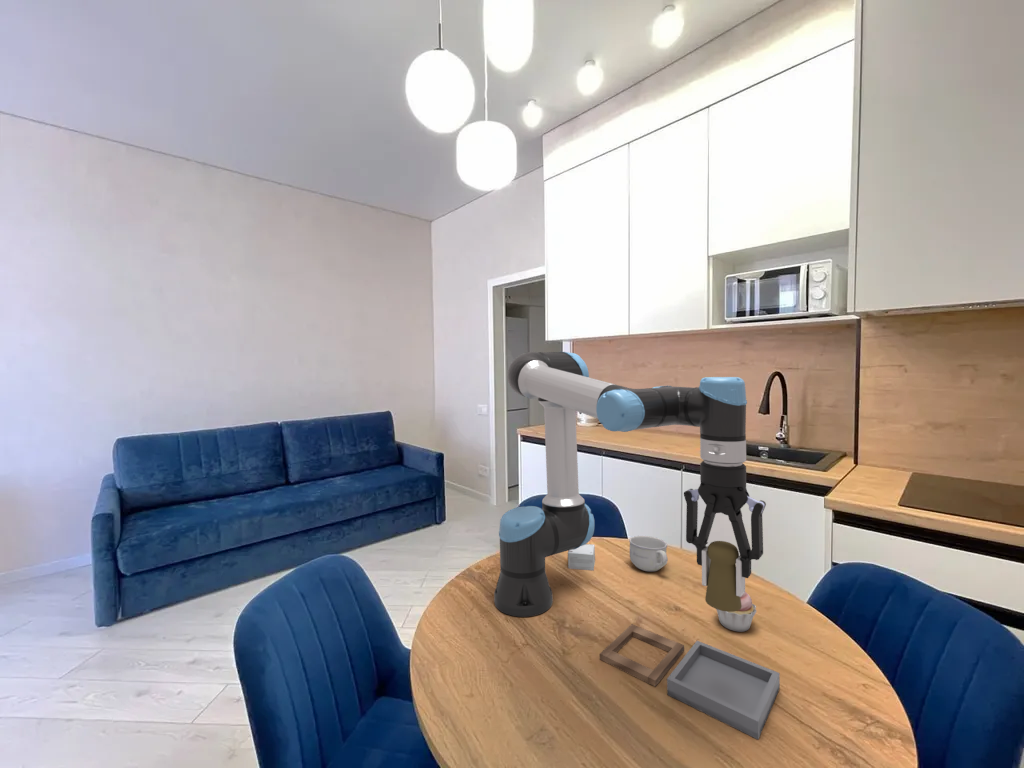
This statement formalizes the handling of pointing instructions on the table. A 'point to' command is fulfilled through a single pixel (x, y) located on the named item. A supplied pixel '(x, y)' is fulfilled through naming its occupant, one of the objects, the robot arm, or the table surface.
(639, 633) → the socket block
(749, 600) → the cupcake
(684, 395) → the robot arm
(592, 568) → the small box
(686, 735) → the table surface
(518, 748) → the table surface
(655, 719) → the table surface
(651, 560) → the teacup
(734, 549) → the olive bulb peg
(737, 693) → the tray
